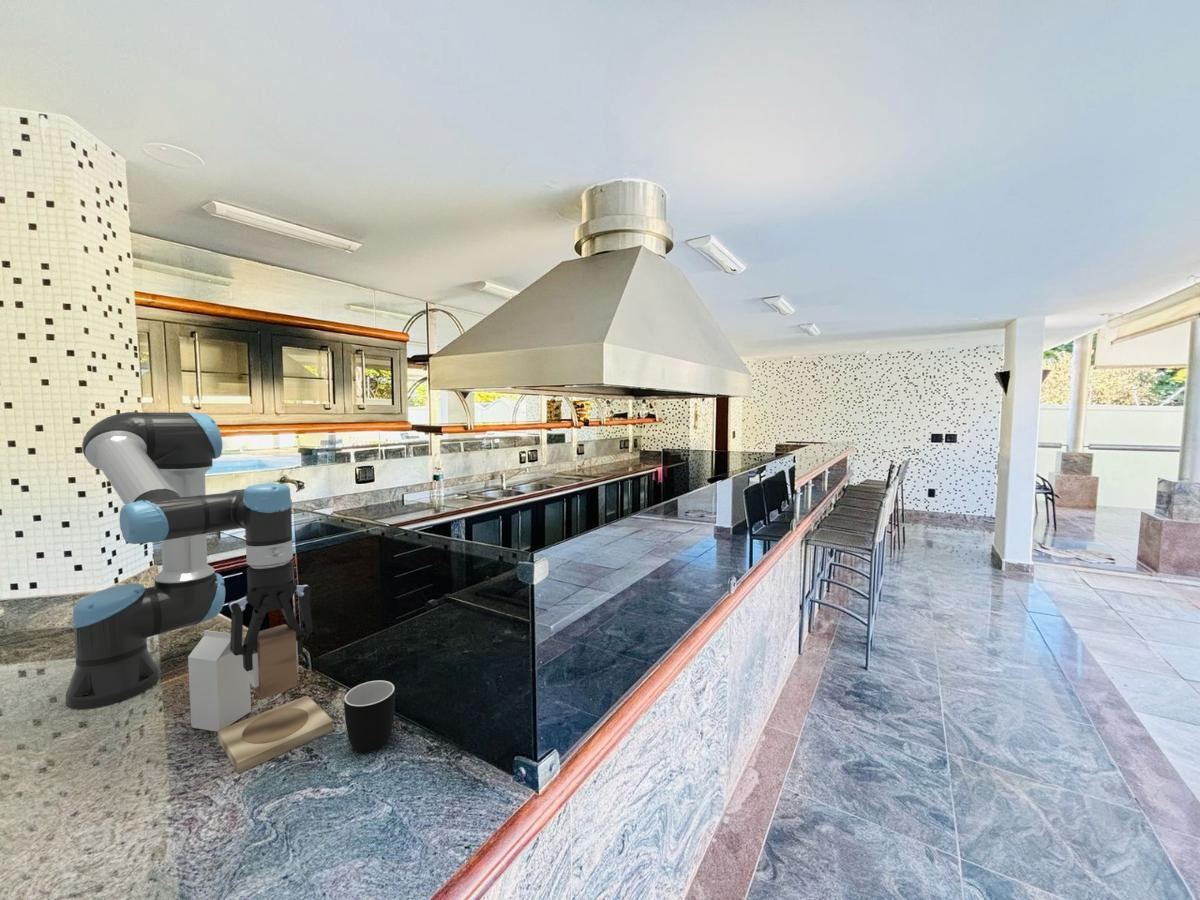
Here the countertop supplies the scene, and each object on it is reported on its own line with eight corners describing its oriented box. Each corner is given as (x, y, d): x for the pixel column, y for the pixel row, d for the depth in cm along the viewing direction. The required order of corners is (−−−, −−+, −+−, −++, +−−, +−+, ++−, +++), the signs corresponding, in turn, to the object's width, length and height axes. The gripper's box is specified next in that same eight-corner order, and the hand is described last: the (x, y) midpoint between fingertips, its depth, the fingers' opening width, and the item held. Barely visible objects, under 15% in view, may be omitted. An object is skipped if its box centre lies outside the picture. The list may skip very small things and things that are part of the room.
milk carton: (219, 732, 97) (215, 641, 96) (190, 728, 98) (186, 637, 97) (251, 712, 104) (248, 626, 103) (224, 708, 105) (220, 623, 104)
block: (252, 687, 95) (250, 633, 95) (287, 675, 100) (285, 623, 99) (262, 699, 92) (260, 642, 91) (297, 685, 96) (295, 632, 95)
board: (217, 740, 95) (217, 729, 95) (307, 703, 107) (307, 694, 107) (238, 773, 86) (237, 762, 86) (333, 730, 98) (333, 719, 98)
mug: (405, 736, 96) (404, 687, 96) (364, 764, 88) (362, 711, 88) (368, 718, 102) (367, 671, 102) (326, 742, 94) (324, 692, 94)
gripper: (214, 579, 85) (220, 706, 86) (330, 556, 99) (333, 665, 101) (204, 570, 89) (209, 691, 91) (316, 550, 104) (319, 654, 105)
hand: (274, 677), depth 96 cm, fingers closed on block, 6 cm apart
